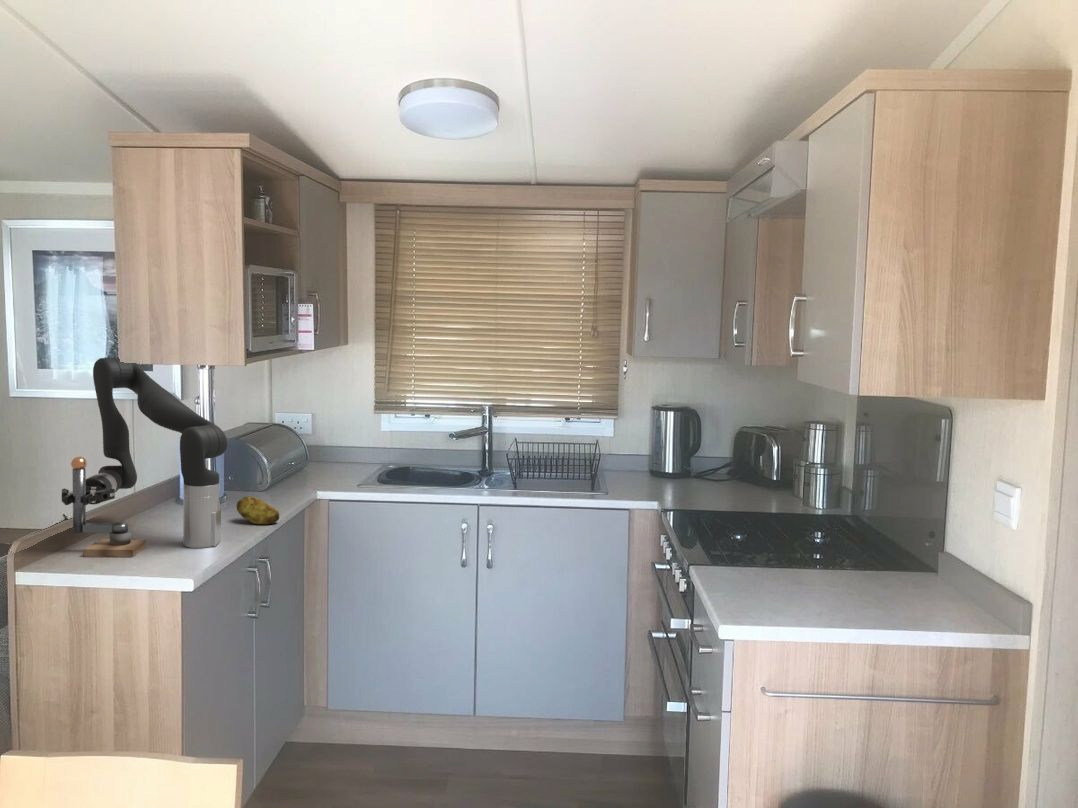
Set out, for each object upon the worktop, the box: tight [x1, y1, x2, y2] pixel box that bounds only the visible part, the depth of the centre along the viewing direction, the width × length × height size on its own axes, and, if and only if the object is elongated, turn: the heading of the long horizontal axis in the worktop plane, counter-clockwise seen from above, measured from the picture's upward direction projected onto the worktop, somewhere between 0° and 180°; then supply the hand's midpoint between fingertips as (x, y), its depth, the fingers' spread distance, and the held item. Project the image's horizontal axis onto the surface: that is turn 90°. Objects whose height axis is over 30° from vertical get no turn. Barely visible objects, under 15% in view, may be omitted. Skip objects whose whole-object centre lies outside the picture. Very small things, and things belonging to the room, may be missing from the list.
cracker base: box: [83, 530, 147, 558], centre depth 218 cm, size 12×10×5 cm
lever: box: [70, 456, 130, 534], centre depth 217 cm, size 14×4×20 cm, turn 101°
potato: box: [236, 496, 280, 525], centre depth 255 cm, size 8×13×8 cm, turn 65°
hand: (75, 501), depth 214 cm, fingers open, 4 cm apart
